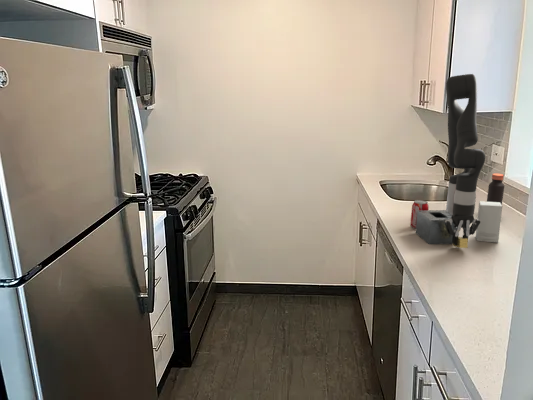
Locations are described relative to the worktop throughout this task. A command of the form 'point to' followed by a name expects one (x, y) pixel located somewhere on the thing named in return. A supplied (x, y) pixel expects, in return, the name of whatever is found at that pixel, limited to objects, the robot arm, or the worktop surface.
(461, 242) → the wooden block
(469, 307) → the worktop surface
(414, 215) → the soda can
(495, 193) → the bottle
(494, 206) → the skincare box
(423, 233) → the box
